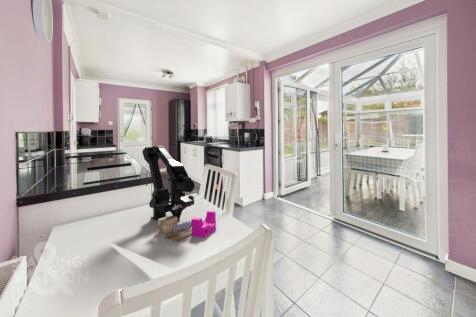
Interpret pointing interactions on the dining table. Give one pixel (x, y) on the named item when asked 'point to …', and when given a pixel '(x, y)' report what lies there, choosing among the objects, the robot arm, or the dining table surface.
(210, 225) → the toy block
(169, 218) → the block
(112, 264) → the dining table surface
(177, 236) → the board
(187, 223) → the channel
